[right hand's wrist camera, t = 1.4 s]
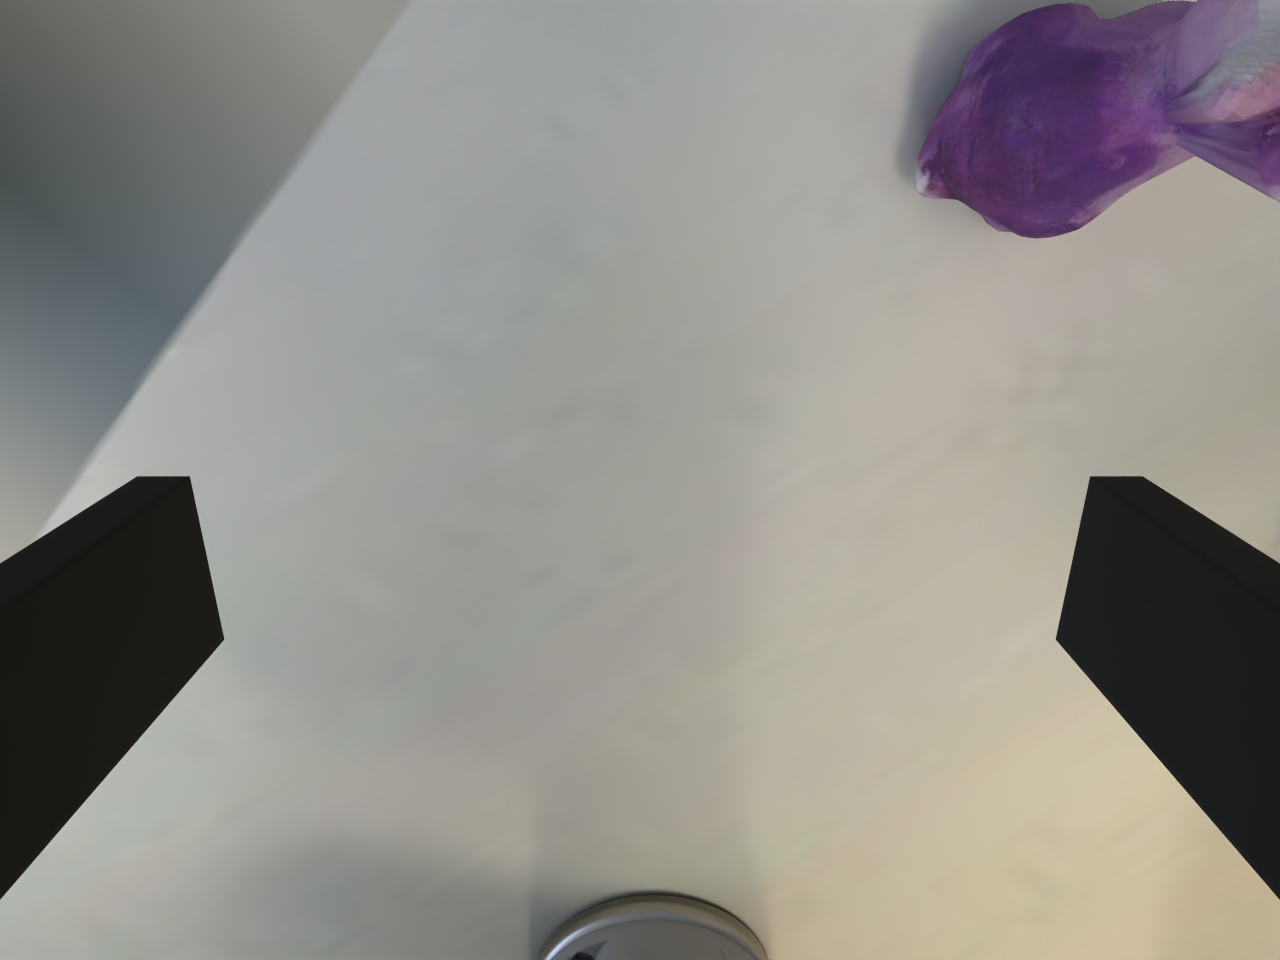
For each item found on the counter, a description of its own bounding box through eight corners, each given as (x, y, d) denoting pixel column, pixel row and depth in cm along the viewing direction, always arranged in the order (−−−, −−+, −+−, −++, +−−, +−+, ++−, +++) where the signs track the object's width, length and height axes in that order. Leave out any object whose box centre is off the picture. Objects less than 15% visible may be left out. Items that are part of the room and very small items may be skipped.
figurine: (1211, 15, 33) (1622, -82, 19) (1082, 263, 37) (1349, 332, 23) (1000, -73, 32) (1275, -244, 18) (888, 191, 36) (1046, 217, 22)
